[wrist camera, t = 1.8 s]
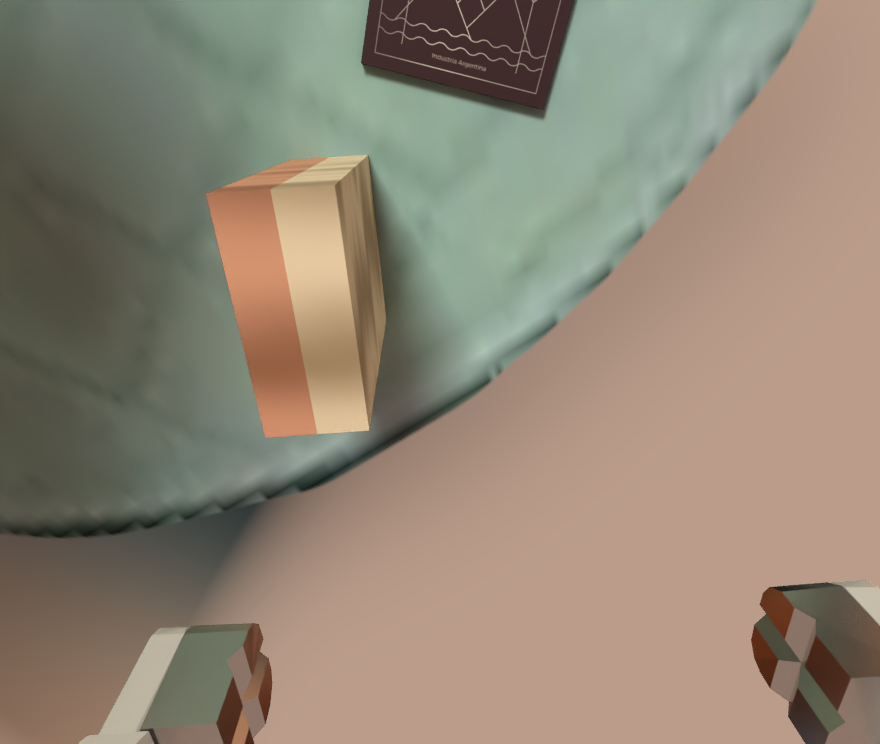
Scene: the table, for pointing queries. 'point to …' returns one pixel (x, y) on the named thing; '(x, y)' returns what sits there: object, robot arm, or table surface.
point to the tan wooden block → (306, 291)
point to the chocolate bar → (470, 43)
